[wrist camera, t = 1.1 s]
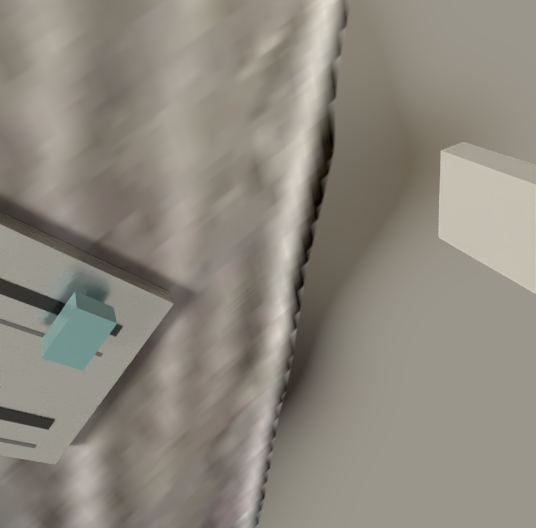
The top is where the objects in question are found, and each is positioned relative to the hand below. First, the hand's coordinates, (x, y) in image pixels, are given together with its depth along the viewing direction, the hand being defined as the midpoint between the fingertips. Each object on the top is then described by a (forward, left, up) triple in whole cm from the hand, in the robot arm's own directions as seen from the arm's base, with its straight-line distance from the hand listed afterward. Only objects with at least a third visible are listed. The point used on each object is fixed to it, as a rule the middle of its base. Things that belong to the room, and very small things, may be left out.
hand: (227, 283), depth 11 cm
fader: (+5, -14, -21) cm, 26 cm away
